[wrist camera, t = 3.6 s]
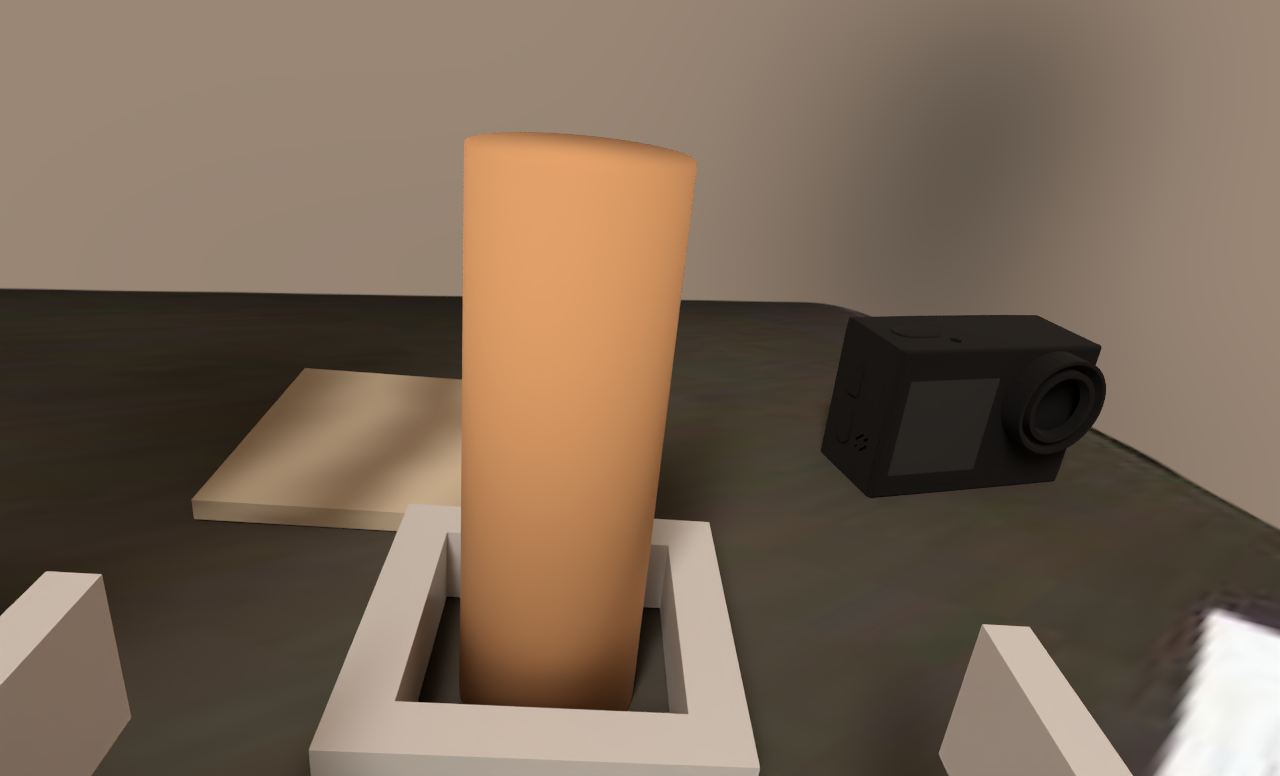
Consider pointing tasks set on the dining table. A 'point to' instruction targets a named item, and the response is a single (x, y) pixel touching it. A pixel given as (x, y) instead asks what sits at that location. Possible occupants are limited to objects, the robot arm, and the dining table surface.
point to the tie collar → (529, 736)
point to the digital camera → (959, 401)
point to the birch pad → (344, 454)
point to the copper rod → (563, 408)
